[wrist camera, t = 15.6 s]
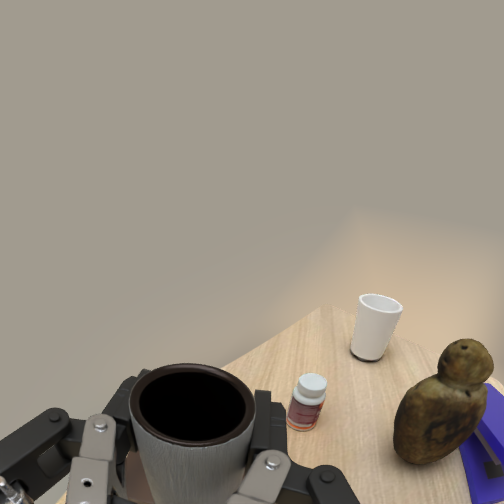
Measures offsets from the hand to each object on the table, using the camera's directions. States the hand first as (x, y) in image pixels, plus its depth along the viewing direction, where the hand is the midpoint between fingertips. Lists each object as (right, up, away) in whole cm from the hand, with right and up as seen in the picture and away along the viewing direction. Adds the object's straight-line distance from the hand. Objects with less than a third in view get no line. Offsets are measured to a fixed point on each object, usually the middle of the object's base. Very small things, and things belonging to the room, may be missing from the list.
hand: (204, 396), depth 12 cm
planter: (-1, -9, -1) cm, 9 cm away
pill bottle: (+10, -19, +26) cm, 34 cm away
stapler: (+40, -25, +15) cm, 50 cm away
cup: (+27, -16, +46) cm, 56 cm away
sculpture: (+25, -23, +17) cm, 38 cm away
